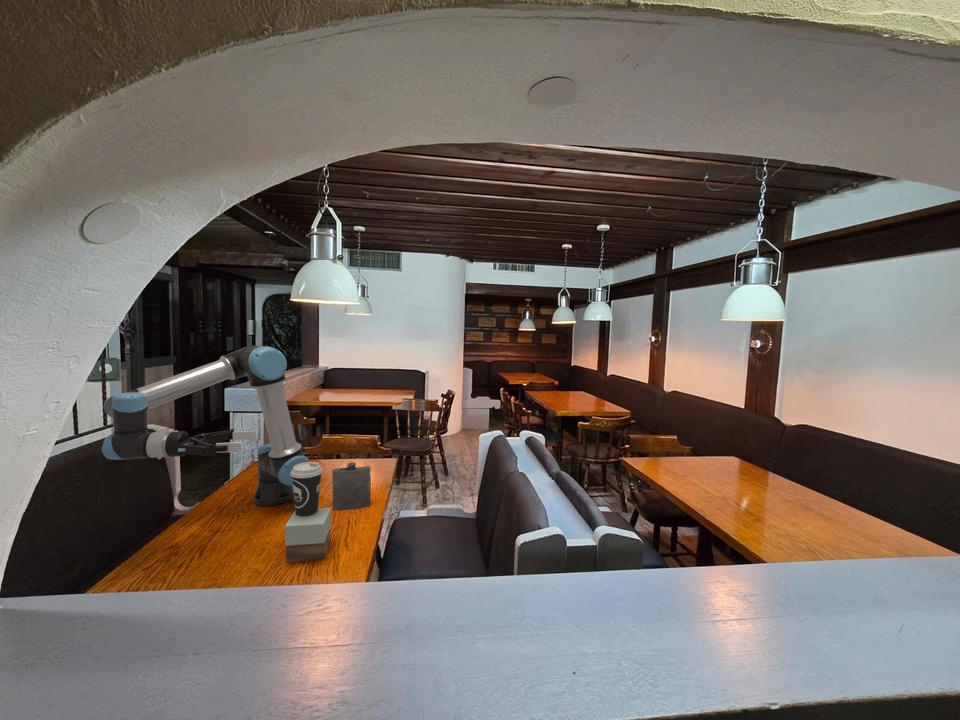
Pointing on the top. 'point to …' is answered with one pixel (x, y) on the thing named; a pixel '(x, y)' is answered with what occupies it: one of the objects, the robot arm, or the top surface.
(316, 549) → the tower base
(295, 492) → the coffee cup
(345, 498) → the flask
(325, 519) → the tower top
